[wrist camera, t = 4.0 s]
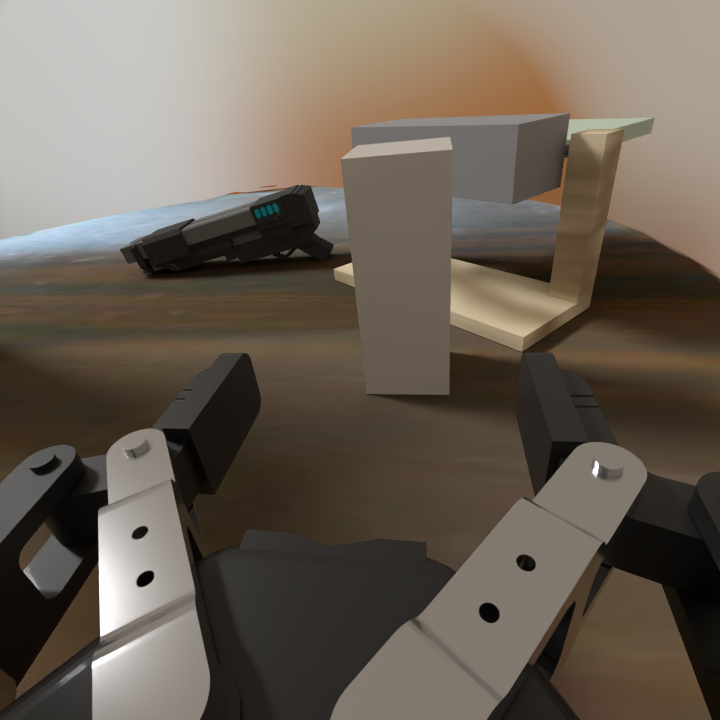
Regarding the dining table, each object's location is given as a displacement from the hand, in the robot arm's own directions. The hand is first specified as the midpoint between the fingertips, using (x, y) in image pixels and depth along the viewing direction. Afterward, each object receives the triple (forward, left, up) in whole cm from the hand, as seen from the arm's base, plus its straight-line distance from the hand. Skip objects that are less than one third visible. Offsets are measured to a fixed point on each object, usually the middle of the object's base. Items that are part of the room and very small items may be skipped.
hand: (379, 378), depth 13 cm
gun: (+10, +35, -8) cm, 38 cm away
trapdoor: (+24, +13, +1) cm, 28 cm away
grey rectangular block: (+8, +7, -7) cm, 13 cm away
